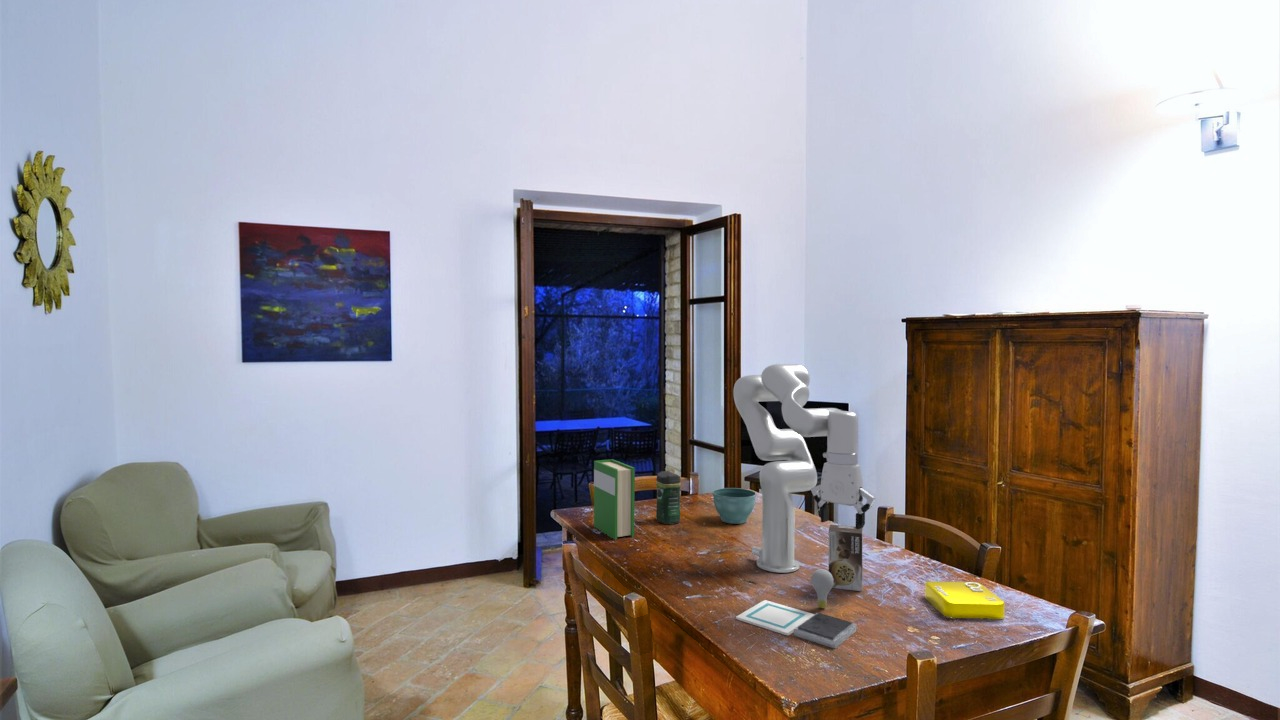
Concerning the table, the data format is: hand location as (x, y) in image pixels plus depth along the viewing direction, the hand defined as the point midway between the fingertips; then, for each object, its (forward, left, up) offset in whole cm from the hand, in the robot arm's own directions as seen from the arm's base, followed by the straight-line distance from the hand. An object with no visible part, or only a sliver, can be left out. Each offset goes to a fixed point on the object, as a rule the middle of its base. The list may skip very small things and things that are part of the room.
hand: (841, 524), depth 175 cm
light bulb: (-2, -7, -21) cm, 22 cm away
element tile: (+25, +18, -21) cm, 37 cm away
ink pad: (+5, -20, -20) cm, 29 cm away
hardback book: (-87, +8, -21) cm, 90 cm away
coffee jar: (-81, +31, -21) cm, 89 cm away
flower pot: (-63, +48, -21) cm, 82 cm away
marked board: (-8, -20, -20) cm, 30 cm away
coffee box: (-4, +12, -21) cm, 24 cm away
